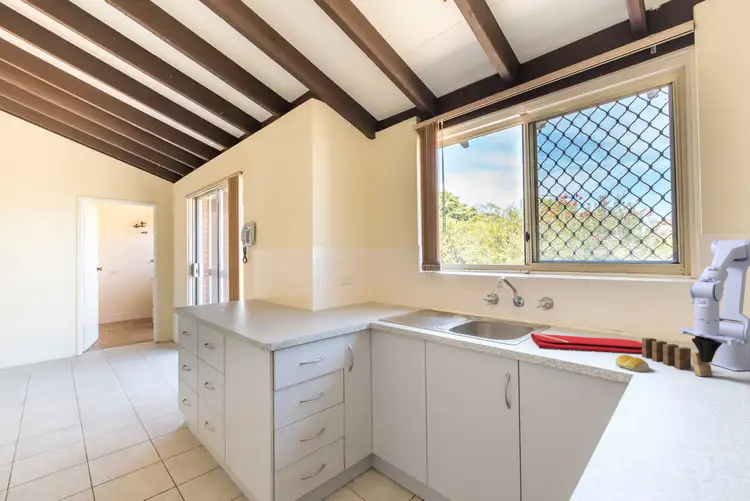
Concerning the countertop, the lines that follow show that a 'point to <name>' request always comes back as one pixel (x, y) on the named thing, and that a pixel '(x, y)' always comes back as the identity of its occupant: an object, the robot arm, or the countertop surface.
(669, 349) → the domino
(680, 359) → the domino
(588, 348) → the dish drying mat
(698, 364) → the domino
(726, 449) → the countertop surface
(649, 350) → the domino
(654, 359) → the domino
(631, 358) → the bread roll
